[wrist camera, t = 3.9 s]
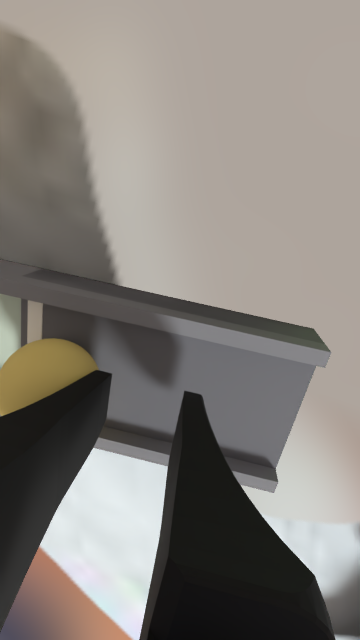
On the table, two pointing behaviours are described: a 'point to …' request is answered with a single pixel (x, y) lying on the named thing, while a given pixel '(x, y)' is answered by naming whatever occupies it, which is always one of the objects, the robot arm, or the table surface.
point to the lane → (176, 365)
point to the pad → (9, 326)
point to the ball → (41, 372)
